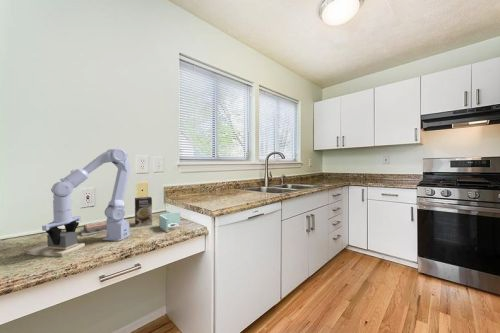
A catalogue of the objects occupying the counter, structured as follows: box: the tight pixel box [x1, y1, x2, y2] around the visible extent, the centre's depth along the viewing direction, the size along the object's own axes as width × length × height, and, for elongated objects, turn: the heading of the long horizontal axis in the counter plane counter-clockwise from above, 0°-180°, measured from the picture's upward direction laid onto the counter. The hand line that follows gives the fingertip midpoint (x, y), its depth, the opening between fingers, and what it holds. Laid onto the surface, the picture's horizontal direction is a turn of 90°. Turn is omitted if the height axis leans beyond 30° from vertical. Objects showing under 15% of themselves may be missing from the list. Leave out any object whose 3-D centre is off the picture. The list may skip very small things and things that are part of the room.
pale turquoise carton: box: [158, 211, 181, 233], centre depth 123 cm, size 12×12×8 cm
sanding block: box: [46, 230, 78, 250], centre depth 91 cm, size 9×5×6 cm, turn 80°
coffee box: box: [134, 196, 153, 228], centre depth 128 cm, size 9×6×16 cm
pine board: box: [23, 242, 86, 258], centre depth 92 cm, size 18×10×2 cm, turn 82°
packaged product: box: [80, 220, 107, 237], centre depth 118 cm, size 18×5×10 cm
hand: (63, 242), depth 91 cm, fingers closed on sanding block, 5 cm apart
